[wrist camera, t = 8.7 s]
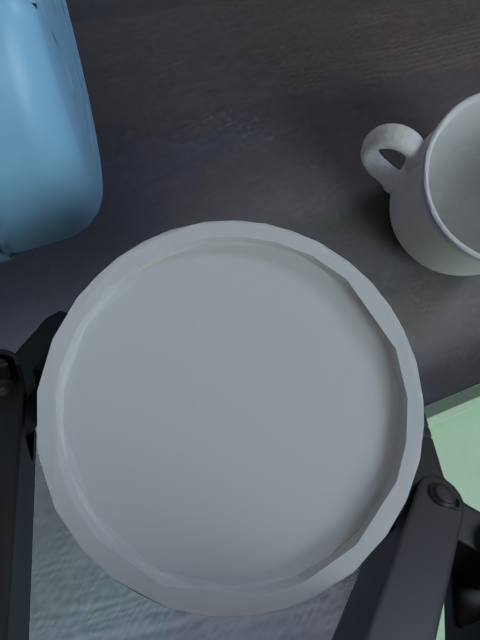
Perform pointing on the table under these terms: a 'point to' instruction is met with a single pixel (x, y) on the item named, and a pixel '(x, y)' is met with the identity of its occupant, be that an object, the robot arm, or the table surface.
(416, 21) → the table surface
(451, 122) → the teacup
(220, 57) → the table surface
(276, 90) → the table surface
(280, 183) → the table surface
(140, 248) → the disposable coffee cup
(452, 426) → the tray
